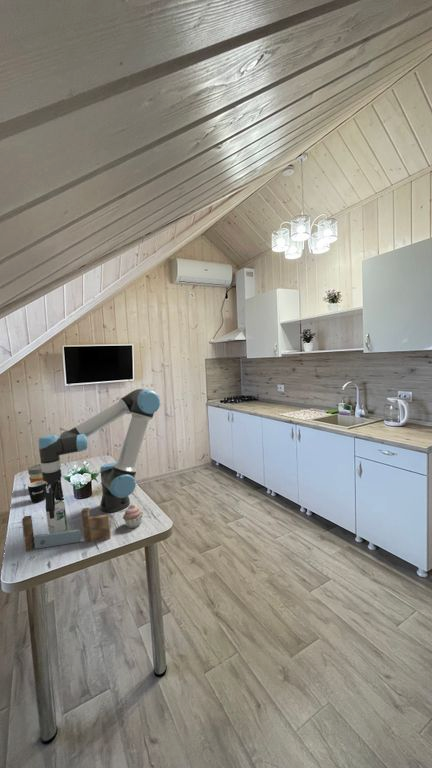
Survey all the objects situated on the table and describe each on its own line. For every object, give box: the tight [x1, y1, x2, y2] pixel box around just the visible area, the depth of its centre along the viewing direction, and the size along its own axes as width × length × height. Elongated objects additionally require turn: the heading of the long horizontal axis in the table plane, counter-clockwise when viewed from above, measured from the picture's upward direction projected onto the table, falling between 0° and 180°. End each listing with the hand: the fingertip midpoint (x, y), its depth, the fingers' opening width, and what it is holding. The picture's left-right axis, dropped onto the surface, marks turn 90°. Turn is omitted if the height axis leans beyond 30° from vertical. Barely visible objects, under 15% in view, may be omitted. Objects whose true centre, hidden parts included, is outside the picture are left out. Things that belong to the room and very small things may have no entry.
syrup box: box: [44, 499, 69, 534], centre depth 142 cm, size 6×6×14 cm
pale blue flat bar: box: [34, 528, 82, 549], centre depth 135 cm, size 18×2×5 cm, turn 99°
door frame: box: [21, 507, 112, 552], centre depth 136 cm, size 34×2×14 cm, turn 99°
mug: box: [27, 481, 47, 504], centre depth 184 cm, size 12×9×10 cm
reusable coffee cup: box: [27, 463, 47, 488], centre depth 200 cm, size 13×12×15 cm
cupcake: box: [122, 503, 144, 529], centre depth 148 cm, size 9×9×10 cm
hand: (57, 519), depth 142 cm, fingers closed on syrup box, 8 cm apart
